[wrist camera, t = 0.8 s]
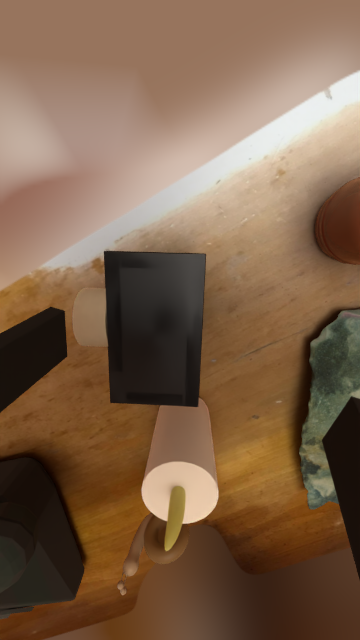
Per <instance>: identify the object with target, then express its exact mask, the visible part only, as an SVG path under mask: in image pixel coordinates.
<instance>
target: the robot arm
mask: <svg viewBox="0 0 360 640" xmlns="http://www.w3.org/2000/svg"><path fill="white" fill-rule="evenodd" d="M66 357H67V343H66V327H65V311H63V310H60V309H57V308H53V307H49V308H48V309H46V310H44V311H42V312H40V313H38V314H36V315H34V316H32V317H31V318H29V319H27V320H25V321H23V322H21V323H19V324H17V325H16V326H14V327H12V328H10V329H8V330H6V331H4V332H2V333H0V412H1V411H3V410H4V409H5V408H6V407H7V406H9V405H10V404H11V403H12V402H13V401H15V400H16V399H17V398H18V397H19V396H20V395H22V394H23V393H24V392H25V391H26V390H28V389H29V388H30V387H31V386H32V385H34V384H35V383H36V382H37V381H38V380H40V379H41V378H42V377H43V376H44V375H46V374H47V373H48V372H49V371H50V370H51V369H53V368H54V367H55V366H56V365H57V364H59V363H60V362H61V361H62V360H63V359H65V358H66ZM322 443H323V447H324V450H325V454H326V458H327V461H328V465H329V469H330V472H331V476H332V480H333V483H334V487H335V491H336V494H337V498H338V502H339V505H340V509H341V513H342V516H343V520H344V524H345V527H346V531H347V535H348V538H349V542H350V546H351V549H352V553H353V557H354V561H355V564H356V568H357V572H358V575H359V579H360V399H359V398H356V397H353V396H351V397H350V399H349V400H348V402H347V403H346V405H345V406H344V408H343V409H342V411H341V412H340V414H339V415H338V417H337V418H336V420H335V421H334V423H333V424H332V426H331V427H330V429H329V430H328V432H327V433H326V434H325V436H324V437H323V439H322Z"/></svg>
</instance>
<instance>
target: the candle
mask: <svg viewBox="0 0 360 640" xmlns="http://www.w3.org/2000/svg"><path fill="white" fill-rule="evenodd" d="M142 498H143V500H144V503H145V505H146V506H147V508H148V509H149V510H150V511H151V512H152V513H153V514H154V515H156V516H157V517H158V518H160V519H163V520H165V521H167V526H166V533H165V544H164V546H165V550H166V551H168V550H170V549H171V548H172V546H173V545H174V543H175V542H176V540H177V538H178V535H179V533H180V530H181V527H182V524H187V523H192V522H196V521H198V520H201V519H203V518H205V517H206V516H207V515H208V514H210V513H211V512H212V510H213V509H214V508H215V506H216V504H217V501H218V483H217V475H216V466H215V457H214V449H213V440H212V432H211V423H210V414H209V410H208V407H207V405H206V404H205V402H204V401H203V400H202V399H201V398H199V404H198V407H184V406H167V405H160V407H159V411H158V416H157V420H156V425H155V429H154V434H153V439H152V443H151V448H150V453H149V457H148V462H147V466H146V471H145V476H144V480H143V485H142Z"/></svg>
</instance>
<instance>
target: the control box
mask: <svg viewBox="0 0 360 640" xmlns="http://www.w3.org/2000/svg"><path fill="white" fill-rule="evenodd" d="M104 265H105V288H106V311H107V334H108V357H109V382H110V403H127V404H147V405H167V406H184V407H198V404H199V384H200V364H201V345H202V325H203V305H204V285H205V265H206V254H198V253H160V252H124V251H104Z"/></svg>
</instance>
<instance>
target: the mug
mask: <svg viewBox="0 0 360 640" xmlns="http://www.w3.org/2000/svg"><path fill="white" fill-rule="evenodd" d="M315 234H316V239H317V242H318V244H319V246H320V248H321V249H322V250H323V251H324V252H325V253H326V254H327V255H328V256H330V257H331V258H333V259H335V260H337V261H339V262H342V263H348V264H355V265H360V177H358V178H356V179H353V180H351V181H349V182H348V183H346V184H345V185H343V186H342V187H341V188H340V189H338V190H337V191H336V192H335V193H333V194H332V195H331V196H330V197H329V198H328V199H327V200H326V202H325V203H324V204H323V206H322V207H321V209H320V211H319V213H318V216H317V219H316V225H315Z"/></svg>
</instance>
